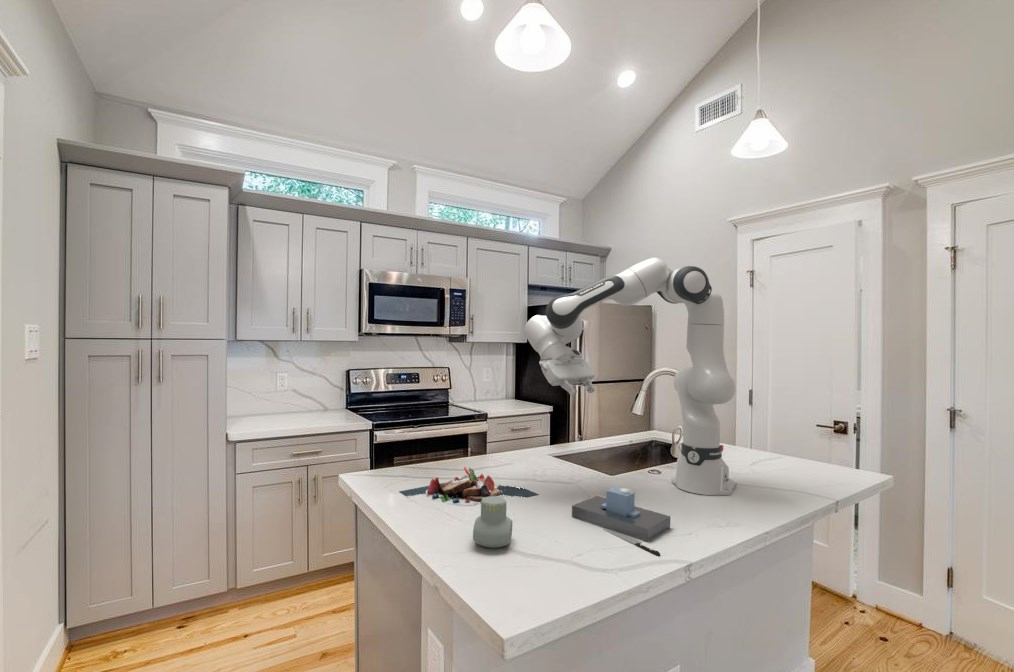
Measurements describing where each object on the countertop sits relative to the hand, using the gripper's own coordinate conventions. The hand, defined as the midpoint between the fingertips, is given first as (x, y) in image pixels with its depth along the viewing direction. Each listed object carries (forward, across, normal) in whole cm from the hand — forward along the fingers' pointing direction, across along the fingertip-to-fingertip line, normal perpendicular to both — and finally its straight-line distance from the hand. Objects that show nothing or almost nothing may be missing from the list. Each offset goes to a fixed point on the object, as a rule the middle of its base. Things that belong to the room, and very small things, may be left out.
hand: (583, 392), depth 149 cm
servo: (+35, -9, +9) cm, 37 cm away
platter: (+5, -22, +41) cm, 47 cm away
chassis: (+35, -9, +9) cm, 37 cm away
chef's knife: (+41, -17, +4) cm, 45 cm away
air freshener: (+26, -42, +19) cm, 53 cm away
